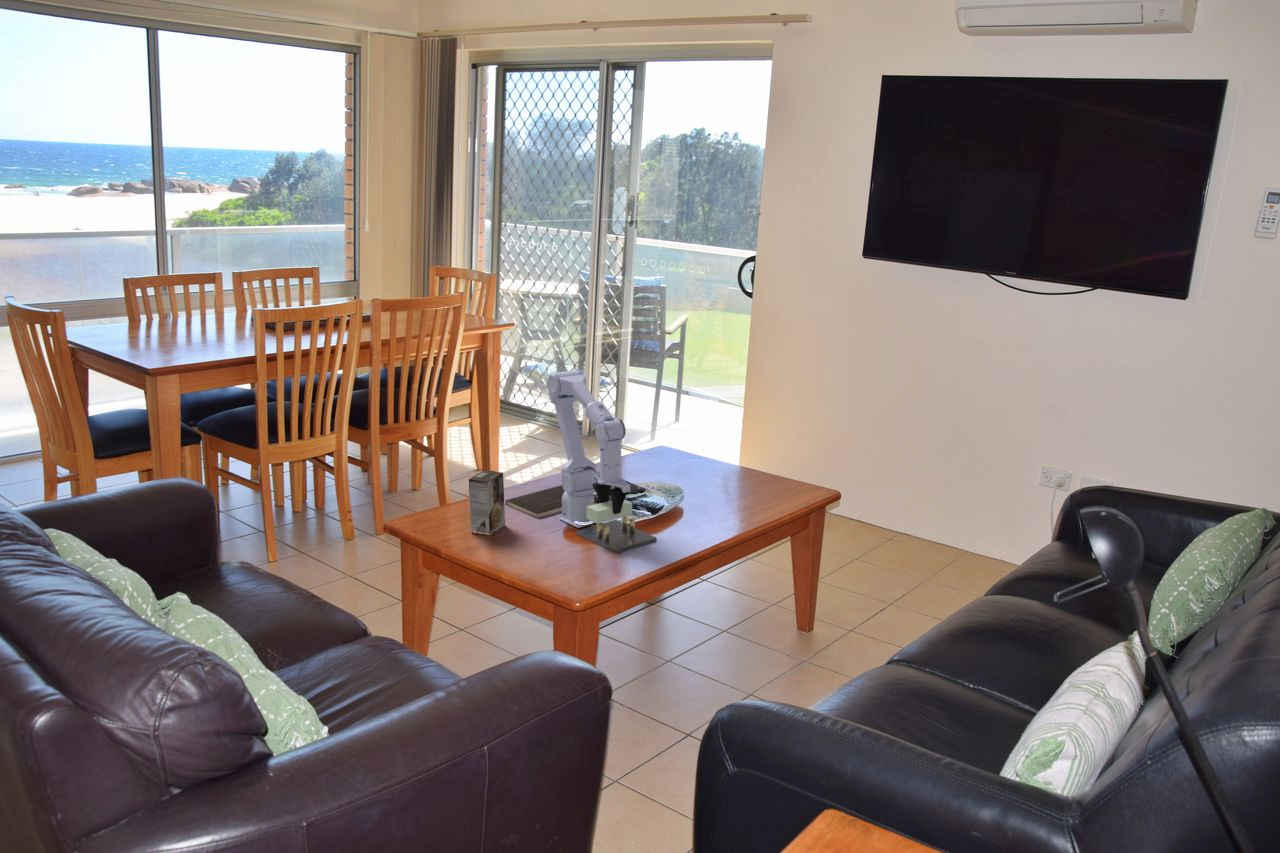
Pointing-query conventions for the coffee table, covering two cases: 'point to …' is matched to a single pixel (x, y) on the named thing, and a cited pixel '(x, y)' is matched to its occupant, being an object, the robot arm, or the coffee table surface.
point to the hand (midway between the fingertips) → (610, 510)
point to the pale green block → (607, 511)
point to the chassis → (616, 535)
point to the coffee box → (487, 501)
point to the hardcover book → (539, 502)
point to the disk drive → (633, 488)
